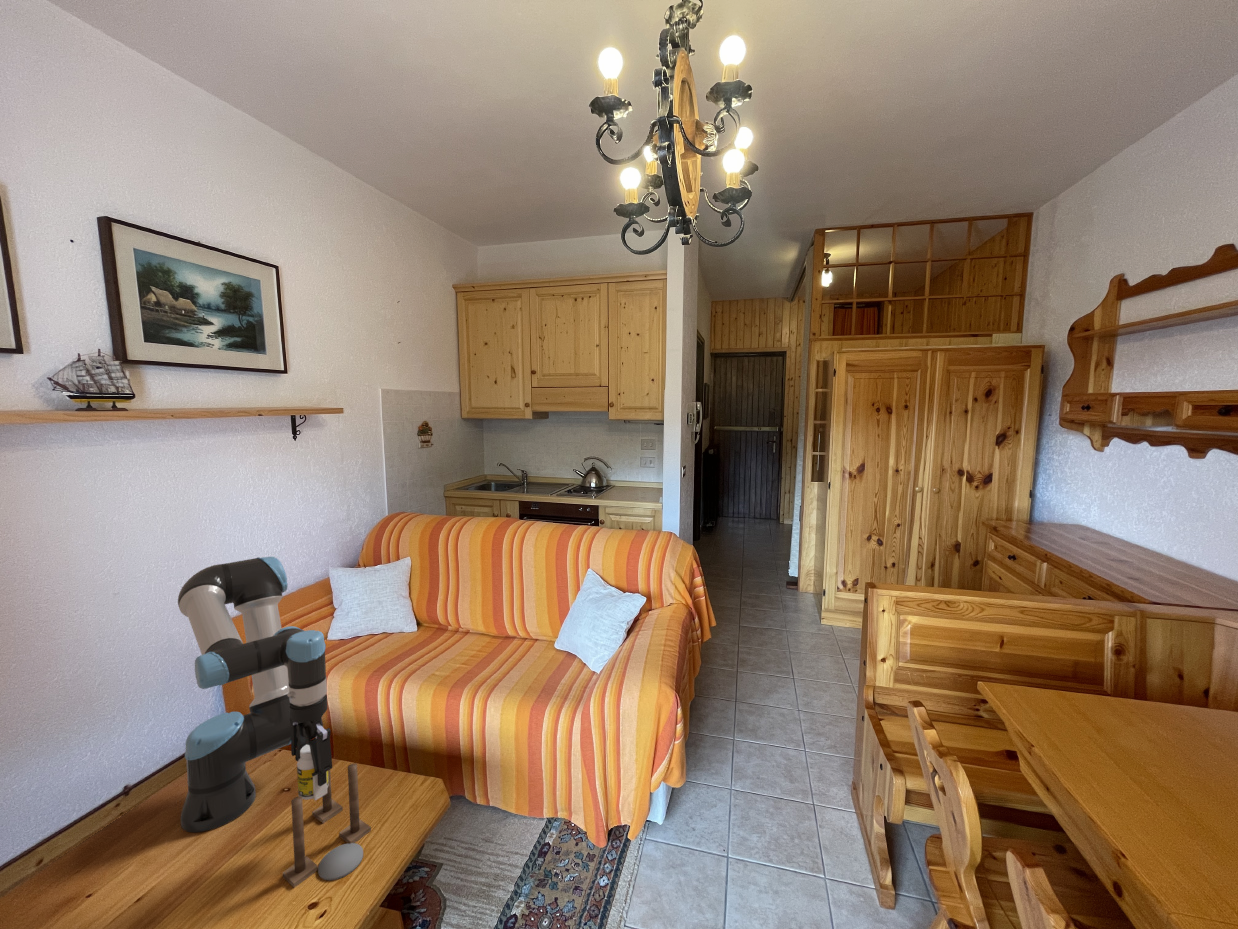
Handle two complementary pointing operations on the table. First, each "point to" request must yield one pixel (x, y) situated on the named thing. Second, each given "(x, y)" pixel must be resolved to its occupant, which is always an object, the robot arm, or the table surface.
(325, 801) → the post
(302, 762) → the pill bottle
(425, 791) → the table surface
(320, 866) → the coaster
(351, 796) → the post corner
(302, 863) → the post
